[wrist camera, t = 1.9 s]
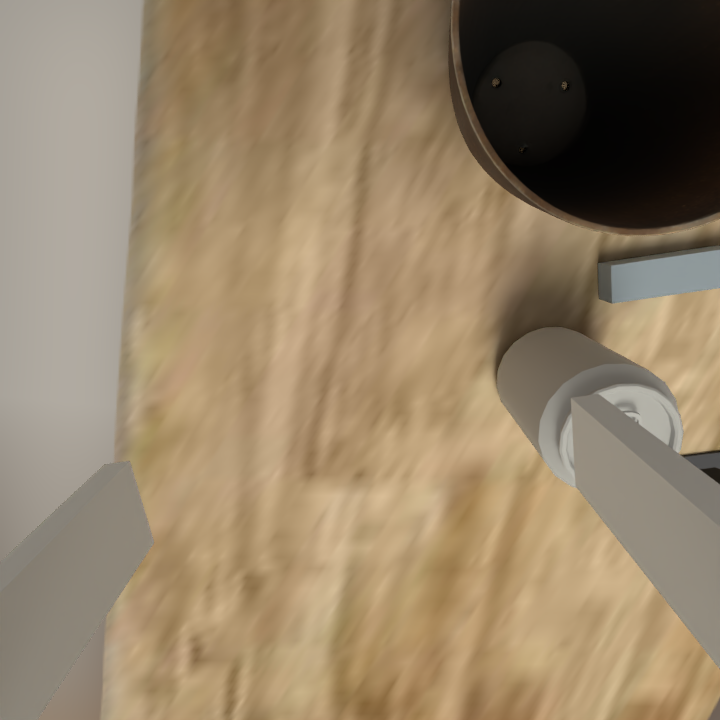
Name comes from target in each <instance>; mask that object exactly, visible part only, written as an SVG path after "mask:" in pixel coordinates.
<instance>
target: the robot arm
mask: <svg viewBox="0 0 720 720" xmlns="http://www.w3.org/2000/svg"><path fill="white" fill-rule="evenodd" d="M571 413H572V431H573V449H574V467H575V486H576V487H577V489H578V490H579V491H580V492H581V494H582V495H583V496H584V497H585V499H586V500H587V501H588V502H589V504H590V505H591V506H592V508H593V509H594V510H595V511H596V513H597V514H598V515H599V516H600V518H601V519H602V520H603V522H604V523H605V524H606V525H607V527H608V528H609V529H610V530H611V532H612V533H613V534H614V535H615V537H616V538H617V539H618V541H619V542H620V543H621V544H622V546H623V547H624V548H625V549H626V551H627V552H628V553H629V554H630V556H631V557H632V558H633V560H634V561H635V562H636V563H637V565H638V566H639V567H640V568H641V570H642V571H643V572H644V574H645V575H646V576H647V577H648V579H649V580H650V581H651V582H652V584H653V585H654V586H655V587H656V589H657V590H658V591H659V593H660V594H661V595H662V596H663V598H664V599H665V600H666V601H667V603H668V604H669V605H670V607H671V608H672V609H673V610H674V612H675V613H676V614H677V615H678V617H679V618H680V619H681V620H682V622H683V623H684V624H685V626H686V627H687V628H688V629H689V631H690V632H691V633H692V634H693V636H694V637H695V638H696V639H697V641H698V642H699V643H700V645H701V646H702V647H703V648H704V650H705V651H706V652H707V653H708V655H709V656H710V657H711V659H712V660H713V661H714V662H715V664H716V665H717V666H718V667H719V669H720V469H718V468H716V467H713V468H706V469H698V468H697V467H696V466H694V465H693V464H692V463H690V462H689V461H688V460H686V459H685V458H684V457H682V456H681V455H680V454H678V453H677V452H676V451H674V450H673V449H672V448H670V447H669V446H668V445H666V444H665V443H664V442H662V441H661V440H660V439H658V438H657V437H656V436H654V435H653V434H652V433H650V432H649V431H648V430H646V429H645V428H644V427H642V426H641V425H640V424H638V423H637V422H636V421H634V420H633V419H632V418H630V417H629V416H627V415H626V414H625V413H623V412H622V411H621V410H619V409H618V408H617V407H615V406H614V405H613V404H611V403H610V402H609V401H607V400H606V399H605V398H603V397H602V396H601V395H599V394H594V395H587V396H580V397H573V398H571ZM153 544H154V540H153V537H152V533H151V530H150V527H149V523H148V520H147V517H146V513H145V510H144V507H143V503H142V500H141V497H140V493H139V490H138V487H137V483H136V480H135V477H134V473H133V470H132V467H131V463H130V461H125V462H118V463H111V464H105V465H103V466H102V467H101V468H100V469H99V470H98V471H97V472H96V473H95V474H94V475H93V476H92V477H90V478H89V480H87V481H86V482H85V483H84V484H83V485H82V486H81V487H80V488H79V489H78V490H77V491H75V492H74V493H73V494H72V495H71V496H70V497H69V498H68V499H67V500H66V501H65V502H64V503H63V504H62V505H60V506H59V507H58V509H56V510H55V511H54V512H53V513H52V514H51V515H50V516H49V517H48V518H47V519H46V520H44V521H43V522H42V523H41V524H40V525H39V526H38V527H37V528H36V529H35V530H34V531H33V532H32V533H31V534H29V535H28V536H27V537H26V538H25V539H24V540H23V541H22V542H21V543H20V544H19V545H18V546H17V547H15V548H14V549H13V550H12V551H11V552H10V553H9V554H8V555H7V556H6V557H5V558H4V559H3V560H2V561H1V562H0V720H38V719H39V717H40V715H41V714H42V712H43V711H44V709H45V708H46V706H47V705H48V703H49V702H50V700H51V699H52V697H53V696H54V694H55V693H56V691H57V690H58V688H59V686H60V685H61V683H62V682H63V681H64V679H65V677H66V676H67V674H68V673H69V671H70V670H71V668H72V667H73V665H74V664H75V662H76V661H77V659H78V658H79V656H80V655H81V653H82V652H83V650H84V649H85V647H86V645H87V644H88V642H89V641H90V639H91V638H92V636H93V635H94V633H95V632H96V630H97V628H98V627H99V626H100V624H101V623H102V621H103V620H104V618H105V617H106V615H107V614H108V612H109V611H110V609H111V608H112V606H113V604H114V603H115V601H116V600H117V598H118V597H119V595H120V594H121V592H122V591H123V589H124V588H125V586H126V585H127V583H128V582H129V580H130V579H131V577H132V576H133V574H134V573H135V571H136V569H137V568H138V566H139V565H140V563H141V562H142V560H143V559H144V557H145V556H146V554H147V553H148V551H149V550H150V548H151V547H152V545H153Z"/></svg>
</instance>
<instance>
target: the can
mask: <svg viewBox="0 0 720 720" xmlns="http://www.w3.org/2000/svg"><path fill="white" fill-rule="evenodd" d="M497 389H498V392H499V396H500V399H501V402H502V403H503V405H504V406H505V407H506V409H507V410H508V411H509V413H510V414H511V416H512V417H513V418H514V420H515V421H516V422H517V424H518V425H519V427H520V428H521V429H522V431H523V432H524V434H525V435H526V436H527V438H528V439H529V440H530V442H531V443H532V445H533V446H534V447H535V449H536V450H537V452H538V453H539V454H540V456H541V457H542V458H543V460H544V461H545V463H546V464H547V465H548V467H549V468H550V469H551V471H552V472H553V473H554V475H555V476H557V477H558V478H559V479H561V480H562V481H564V482H565V483H567V484H568V485H570V486H571V487H575V488H577V487H576V486H575V467H574V449H573V431H572V413H571V398H573V397H580V396H587V395H594V394H599V395H601V396H602V397H603V398H605V399H606V400H607V401H609V402H610V403H611V404H613V405H614V406H615V407H617V408H618V409H619V410H621V411H622V412H623V413H625V414H626V415H627V416H629V417H630V418H632V419H633V420H634V421H636V422H637V423H638V424H640V425H641V426H642V427H644V428H645V429H646V430H648V431H649V432H650V433H652V434H653V435H654V436H656V437H657V438H658V439H660V440H661V441H662V442H664V443H665V444H666V445H668V446H669V447H670V448H672V449H673V450H674V451H676V452H677V453H678V454H679V452H680V450H681V445H682V438H683V432H684V431H683V426H682V421H681V416H680V414H679V412H678V408H677V403H676V399H675V397H674V396H673V394H672V393H671V391H670V390H669V388H668V386H667V385H666V383H665V382H664V381H662V380H661V379H660V378H658V377H657V376H656V375H654V374H653V373H651V372H650V371H649V370H647V369H645V368H643V367H642V366H640V365H638V364H636V363H634V362H632V361H631V360H629V359H627V358H625V357H623V356H621V355H619V354H618V353H616V352H614V351H612V350H610V349H608V348H607V347H605V346H603V345H601V344H599V343H597V342H596V341H594V340H592V339H590V338H588V337H586V336H585V335H583V334H581V333H579V332H577V331H574V330H570V329H567V328H564V327H544V328H541V329H538V330H535V331H532V332H529V333H527V334H526V335H524V336H523V337H521V338H520V339H518V340H517V341H515V342H514V343H513V344H512V346H511V347H510V348H509V349H508V351H507V352H506V353H505V354H504V356H503V358H502V361H501V363H500V366H499V368H498V372H497Z"/></svg>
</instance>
